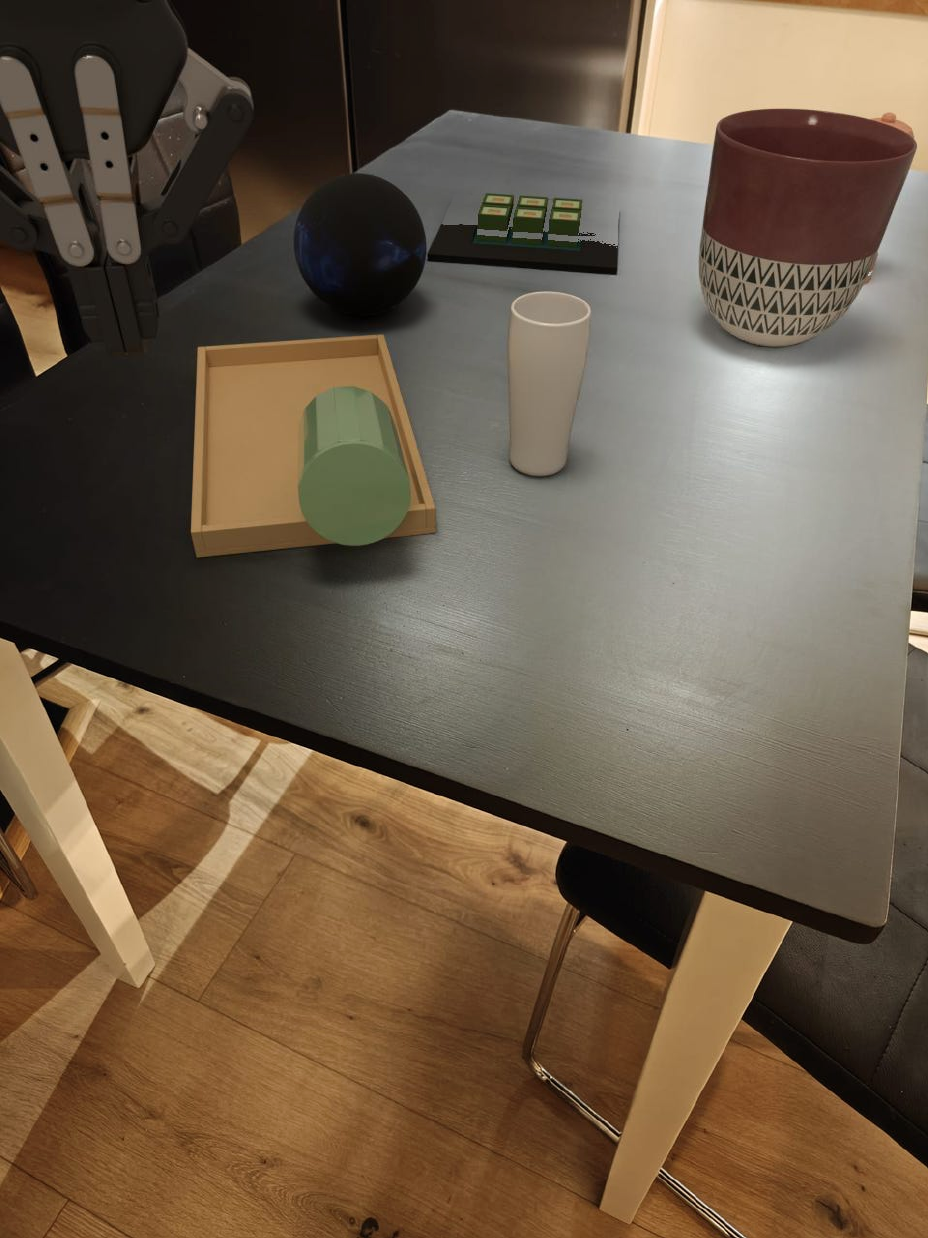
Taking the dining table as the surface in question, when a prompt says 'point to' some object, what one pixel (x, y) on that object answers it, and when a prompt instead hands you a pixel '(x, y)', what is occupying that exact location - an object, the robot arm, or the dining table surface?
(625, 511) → the dining table surface
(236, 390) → the tray
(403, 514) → the green cup
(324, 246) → the decorative sphere
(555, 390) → the drinking glass
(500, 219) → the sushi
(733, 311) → the planter
